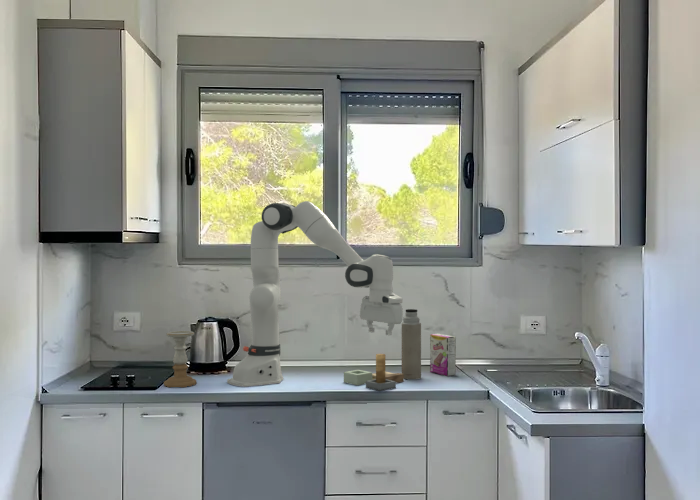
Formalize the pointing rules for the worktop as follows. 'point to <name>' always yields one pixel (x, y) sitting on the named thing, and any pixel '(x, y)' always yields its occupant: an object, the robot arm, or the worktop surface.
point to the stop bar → (395, 377)
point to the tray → (381, 385)
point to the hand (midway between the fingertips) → (379, 333)
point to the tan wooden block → (375, 375)
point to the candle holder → (180, 361)
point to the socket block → (357, 377)
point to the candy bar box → (443, 354)
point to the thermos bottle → (411, 345)
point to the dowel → (380, 368)
